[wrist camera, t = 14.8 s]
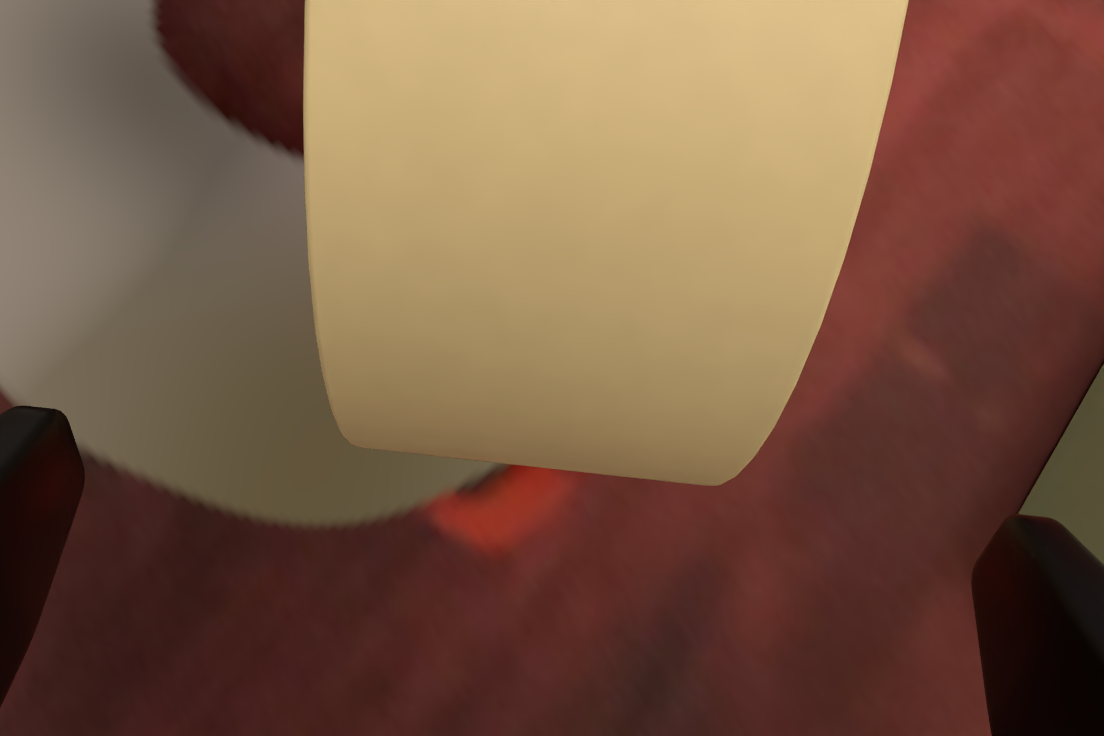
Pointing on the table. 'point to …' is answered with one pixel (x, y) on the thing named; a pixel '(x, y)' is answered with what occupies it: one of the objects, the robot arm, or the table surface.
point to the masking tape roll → (582, 219)
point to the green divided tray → (1076, 475)
